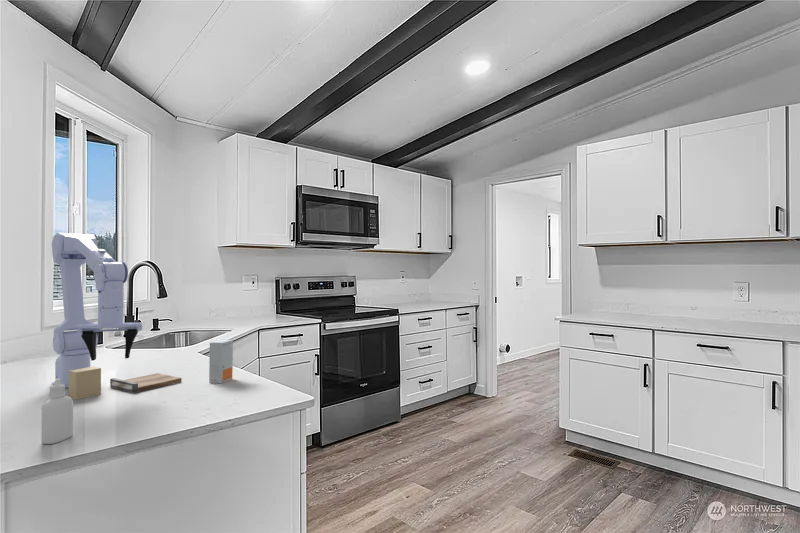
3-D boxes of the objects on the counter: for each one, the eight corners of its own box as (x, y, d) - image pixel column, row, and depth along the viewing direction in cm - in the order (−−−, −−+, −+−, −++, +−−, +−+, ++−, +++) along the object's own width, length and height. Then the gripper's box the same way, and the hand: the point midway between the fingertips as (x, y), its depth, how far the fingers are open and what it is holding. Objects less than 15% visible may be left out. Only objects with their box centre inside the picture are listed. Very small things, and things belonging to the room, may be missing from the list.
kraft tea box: (68, 397, 122) (68, 370, 122) (93, 392, 127) (93, 366, 127) (76, 399, 120) (76, 372, 120) (100, 394, 125) (101, 368, 125)
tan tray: (109, 387, 131) (109, 378, 131) (157, 377, 144) (157, 369, 144) (133, 393, 125) (133, 384, 125) (181, 382, 137) (181, 373, 137)
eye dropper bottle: (36, 441, 90) (36, 380, 90) (69, 433, 95) (69, 374, 95) (45, 446, 88) (45, 383, 88) (78, 437, 93) (78, 377, 93)
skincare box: (221, 383, 136) (221, 343, 136) (208, 383, 136) (208, 342, 136) (233, 378, 141) (233, 339, 142) (220, 378, 142) (220, 339, 142)
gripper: (74, 309, 116) (73, 363, 116) (139, 307, 121) (139, 359, 121) (81, 307, 122) (81, 358, 122) (143, 305, 128) (143, 354, 128)
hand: (110, 358), depth 122 cm, fingers open, 7 cm apart
